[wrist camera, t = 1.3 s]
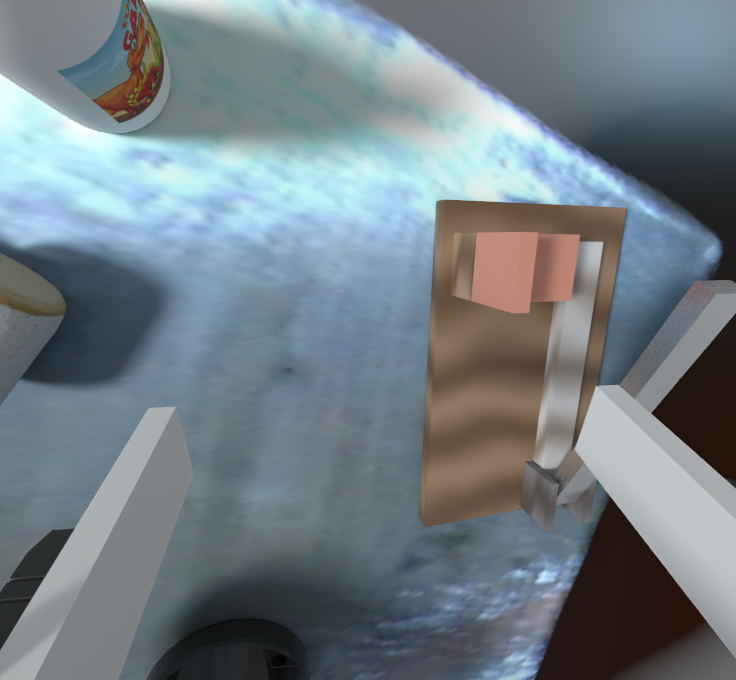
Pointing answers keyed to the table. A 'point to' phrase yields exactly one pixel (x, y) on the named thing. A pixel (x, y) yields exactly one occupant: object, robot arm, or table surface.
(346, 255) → the table surface
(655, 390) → the tong arm
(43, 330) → the ceramic mug
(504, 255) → the bracket
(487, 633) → the table surface
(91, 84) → the milk bottle
